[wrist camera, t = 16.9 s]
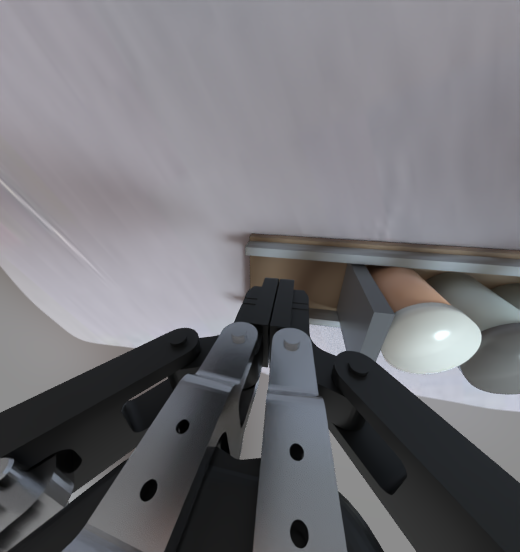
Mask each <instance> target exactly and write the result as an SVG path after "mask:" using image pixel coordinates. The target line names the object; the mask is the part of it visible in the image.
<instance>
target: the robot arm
mask: <svg viewBox="0 0 520 552" xmlns="http://www.w3.org/2000/svg"><path fill="white" fill-rule="evenodd" d="M268 363H269V368H270V373H269V385H268V391H267V398H266V408H265V420H264V431H263V442H262V453H261V458H256V459H247V460H239V459H240V454H241V450H242V443H243V436H244V432H245V428H246V425H247V421H248V418H249V414H250V411H251V408H252V404H253V401H254V397H255V394H256V390H257V387H258V384H259V377H260V373H261V368H262V367H268ZM166 377H168V379H167V380H165V381H164V382H162V383H160V384H159V385H157V386H156V387H154V388H152V389H151V390H149V391H147V392H146V393H144V394H142V395H141V396H139V397H137V398H135V399H133V400H130V401H128V400H129V399H131V398H132V397H134V396H136V395H137V394H139V393H141V392H142V391H144V390H146V389H148V388H149V387H151V386H153V385H154V384H156V383H158V382H159V381H161V380H162V379H164V378H166ZM329 430H330V431H331V433H332V434H333V436H334V437H335V438H336V440H337V441H338V443H339V444H340V445H341V447H342V448H343V449H344V451H345V452H346V454H347V455H348V456H349V458H350V459H351V461H352V462H353V464H354V465H355V466H356V468H357V469H358V471H359V472H360V473H361V475H362V476H363V478H364V479H365V480H366V482H367V483H368V484H369V486H370V487H371V489H372V490H373V492H374V493H375V494H376V496H377V497H378V498H379V500H380V501H381V503H382V504H383V505H384V507H385V508H386V510H387V511H388V512H389V514H390V515H391V517H392V518H393V519H394V521H395V522H396V524H397V525H398V526H399V528H400V529H401V531H402V532H403V533H404V535H405V536H406V538H407V539H408V540H409V542H410V543H411V544H412V546H413V547H414V549H415V550H416V552H520V483H519V482H518V481H516V480H515V479H514V478H513V477H512V476H511V475H509V474H508V473H507V472H506V471H505V470H503V469H502V468H501V467H500V466H499V465H498V464H496V463H495V462H494V461H493V460H491V459H490V458H489V457H488V456H487V455H485V454H484V453H483V452H482V451H481V450H480V449H478V448H477V447H476V446H475V445H474V444H472V443H471V442H470V441H469V440H468V439H467V438H465V437H464V436H463V435H462V434H460V433H459V432H458V431H457V430H456V429H455V428H453V427H452V426H451V425H450V424H448V423H447V422H446V421H445V420H444V419H443V418H442V417H440V416H439V415H438V414H437V413H436V412H434V411H433V410H432V409H431V408H430V407H428V406H427V405H426V404H425V403H424V402H422V401H421V400H420V399H419V398H418V397H417V396H415V395H414V394H413V393H412V392H411V391H409V390H408V389H407V388H406V387H405V386H403V385H402V384H401V383H400V382H399V381H397V380H396V379H395V378H394V377H393V376H392V375H390V374H389V373H388V372H387V371H386V370H384V369H383V368H382V367H381V366H380V365H378V364H377V363H376V362H375V361H374V360H372V359H371V358H370V357H368V356H366V355H364V354H362V353H359V352H356V351H344V352H341V353H340V354H338V355H337V356H335V355H332V354H330V353H327V352H325V351H323V350H321V349H320V348H318V347H317V346H316V345H315V344H314V343H313V342H312V340H311V338H310V334H309V297H308V295H307V294H306V292H305V291H304V290H294V280H290V279H280V282H279V279H278V278H266V277H265V279H264V282H263V285H262V287H260V286H254V287H252V288H251V289H250V290H248V292H247V294H246V296H245V299H244V301H243V304H242V305H241V308H240V310H239V312H238V314H237V317H236V319H235V321H234V323H232V324H230V325H228V326H226V327H225V328H224V329H223V330H222V332H221V334H220V335H217V336H212V337H204V338H199V336H198V334H197V332H196V331H195V330H193V329H190V328H180V329H176V330H173V331H171V332H169V333H167V334H165V335H162V336H160V337H158V338H156V339H154V340H152V341H150V342H148V343H146V344H144V345H141V346H139V347H137V348H135V349H133V350H131V351H129V352H127V353H125V354H123V355H120V356H119V357H116V358H114V359H112V360H110V361H108V362H106V363H104V364H102V365H100V366H97V367H95V368H93V369H92V370H89V371H87V372H85V373H83V374H81V375H79V376H77V377H75V378H72V379H70V380H68V381H66V382H64V383H62V384H60V385H58V386H55V387H53V388H51V389H49V390H47V391H45V392H43V393H41V394H39V395H37V396H35V397H33V398H31V399H28V400H26V401H24V402H22V403H20V404H18V405H16V406H14V407H11V408H9V409H7V410H5V411H3V412H1V413H0V552H384V551H383V549H382V548H381V546H380V544H379V543H378V541H377V539H376V538H375V536H374V535H373V533H372V531H371V530H370V528H369V527H368V525H367V524H366V522H365V521H364V520H363V518H362V517H361V516H360V514H359V513H358V511H357V510H356V509H355V508H354V507H353V506H352V505H351V503H350V502H349V501H348V500H347V499H346V498H345V497H344V496H343V495H342V494H341V493H340V492H338V488H337V481H336V475H335V468H334V462H333V455H332V449H331V443H330V436H329ZM134 448H136V449H135V450H134V452H133V453H132V455H131V456H130V458H129V459H127V460H125V461H124V462H122V463H121V464H120V465H118V466H117V467H116V468H114V469H113V470H112V471H111V472H109V473H108V474H107V475H105V476H104V477H103V478H102V479H100V480H99V481H98V482H96V483H95V484H94V485H92V486H91V487H90V488H89V489H87V490H86V491H85V492H83V493H82V494H81V495H79V496H78V497H77V498H76V499H74V500H73V501H72V502H71V503H69V501H68V500H69V498H70V496H71V494H72V493H73V492H75V491H76V490H77V489H79V488H80V487H82V486H83V485H85V484H86V483H87V482H89V481H90V480H92V479H93V478H94V477H96V476H97V475H98V474H100V473H101V472H103V471H104V470H105V469H107V468H108V467H109V466H111V465H112V464H114V463H115V462H116V461H118V460H119V459H120V458H122V457H123V456H125V455H126V454H127V453H129V452H130V451H131V450H133V449H134Z"/></svg>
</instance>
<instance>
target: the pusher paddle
mask: <svg viewBox="0 0 520 552" xmlns="http://www.w3.org/2000/svg"><path fill="white" fill-rule="evenodd" d="M336 310H337V314H338V318H339V323H340V327H341V331H342V335H343V339H344V343H345V347H346V351H356V352H359V353H362V354H364V355H366V356H368V357H370V358H371V359H372V360H374V361H375V362H376V360H377V357H378V355H379V352H380V350H381V348H382V345H383V343H384V340H385V338H386V336H387V333H388V331H389V328H390V326H391V323H392V321H393V319H394V316H395V313H394V312H393V310H392V308H391V307H390V305H389V304H388V302H387V300H386V299H385V297H384V295H383V294H382V292H381V291H380V289H379V287H378V286H377V284H376V283H375V281H374V279H373V278H372V276H371V274H370V273H369V271H368V270H367V268H366V266H365V265H364V264H352V263H347V267H346V271H345V275H344V280H343V284H342V288H341V292H340V297H339V301H338V305H337V309H336Z"/></svg>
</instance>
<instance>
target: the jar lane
mask: <svg viewBox="0 0 520 552" xmlns="http://www.w3.org/2000/svg"><path fill="white" fill-rule="evenodd" d="M249 239H250V241H249V242H248V244H247V245H246V247H245V251H246V255H250V289H251V288H252V287H254V286H260V287H262V285H263V282H264V279H265V277H266V278H278V279H279V282H280V279H290V280H294V290H304V291H305V292H306V294H307V295H308V297H309V324H312V325H320V326H328V327H336V328H341V327H340V323H339V318H338V314H337V310H336V309H337V305H338V301H339V297H340V292H341V288H342V284H343V280H344V275H345V271H346V267H347V263H352V264H364V265H365V266H366V267H367V266H368V265H378V266H391V267H403V268H412V269H413V270H414V271H415V272H416V273H417V274H418V275H420V276H421V277H422V278H423V279H424V280H425V281H426V280H428V279H429V278H431V277H433V276H436V275H438V274H442V273H447V272H460V273H464V274H467V275H469V276H471V277H472V278H474V279H475V280H477V281H478V282H480V283H481V284H483V285H484V286H485V287H487V288H488V289H490V290H491V289H493V288H495V287H498V286H501V285H505V284H512V283H520V251H518V250H502V249H486V248H470V247H454V246H438V245H423V244H407V243H391V242H375V241H359V240H343V239H327V238H312V237H296V236H280V235H264V234H251V235H250V237H249Z"/></svg>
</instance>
